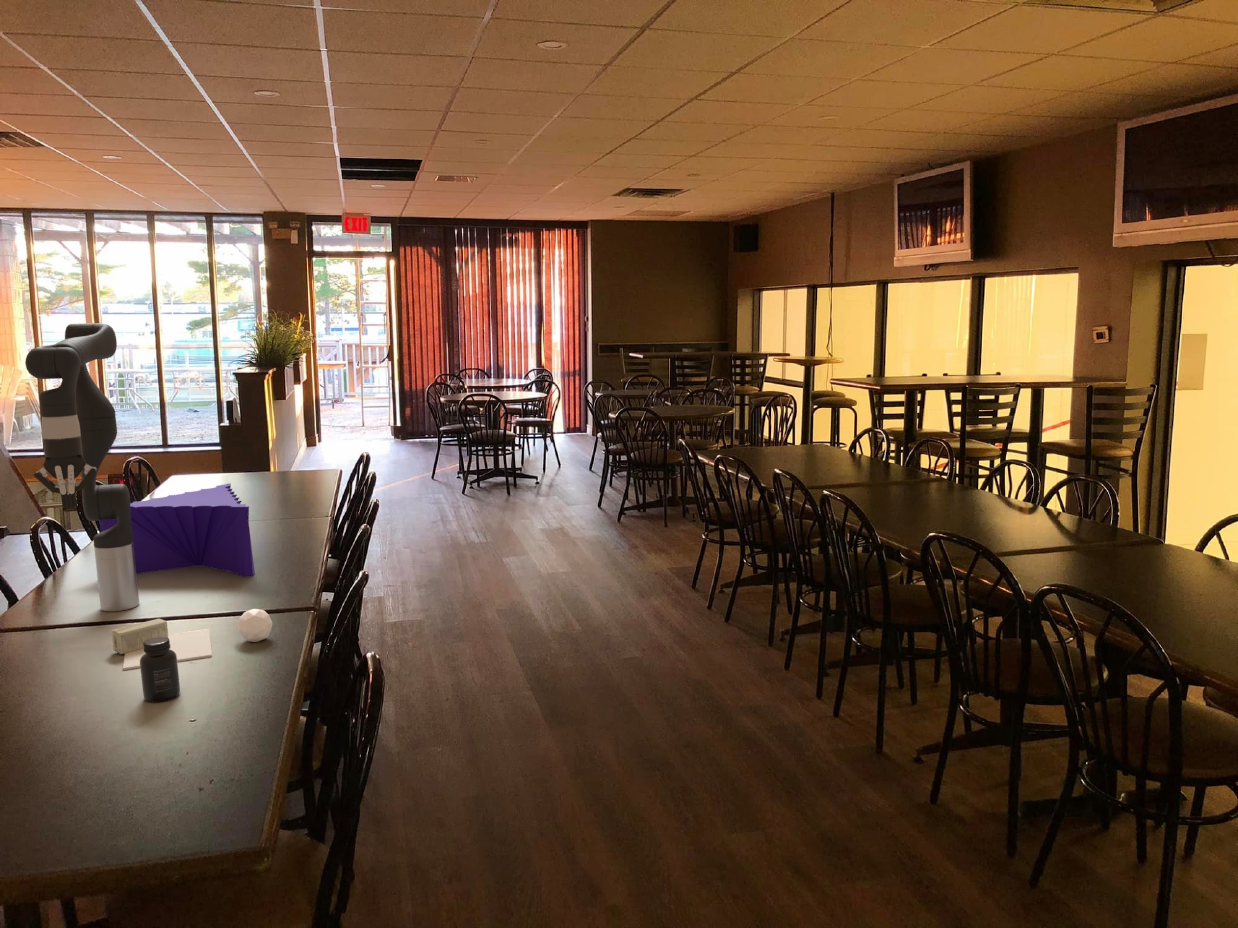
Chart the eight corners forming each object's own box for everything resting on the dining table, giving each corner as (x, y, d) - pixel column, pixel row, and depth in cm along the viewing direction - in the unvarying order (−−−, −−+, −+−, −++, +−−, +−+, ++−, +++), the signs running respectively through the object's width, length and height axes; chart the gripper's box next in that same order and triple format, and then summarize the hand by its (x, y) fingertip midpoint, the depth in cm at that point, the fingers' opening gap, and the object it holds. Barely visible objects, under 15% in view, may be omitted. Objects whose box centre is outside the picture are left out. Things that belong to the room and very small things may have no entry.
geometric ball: (262, 647, 227) (278, 617, 230) (261, 646, 220) (278, 615, 222) (232, 635, 225) (248, 604, 228) (230, 633, 218) (247, 601, 221)
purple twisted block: (252, 577, 279) (247, 507, 275) (103, 578, 280) (96, 508, 276) (300, 544, 318) (295, 482, 314) (169, 545, 319) (163, 484, 316)
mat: (127, 641, 224) (127, 639, 224) (209, 630, 232) (208, 628, 232) (123, 670, 206) (122, 667, 206) (211, 656, 214) (211, 654, 214)
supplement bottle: (186, 689, 195) (181, 634, 193) (171, 702, 189) (166, 646, 187) (152, 690, 195) (147, 635, 193) (137, 703, 188) (131, 646, 186)
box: (112, 650, 217) (161, 638, 225) (120, 654, 214) (169, 642, 223) (111, 628, 216) (159, 617, 225) (119, 632, 214) (167, 621, 222)
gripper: (95, 431, 220) (103, 503, 223) (30, 435, 215) (38, 509, 218) (93, 435, 214) (101, 509, 216) (25, 439, 208) (34, 515, 211)
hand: (69, 509), depth 217 cm, fingers closed
